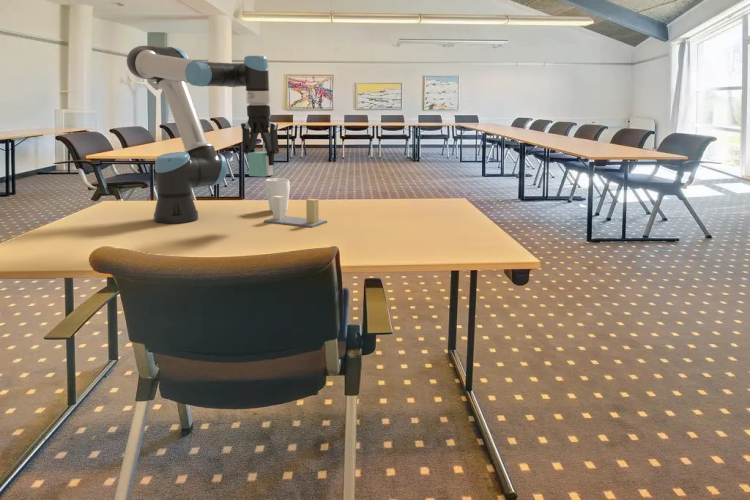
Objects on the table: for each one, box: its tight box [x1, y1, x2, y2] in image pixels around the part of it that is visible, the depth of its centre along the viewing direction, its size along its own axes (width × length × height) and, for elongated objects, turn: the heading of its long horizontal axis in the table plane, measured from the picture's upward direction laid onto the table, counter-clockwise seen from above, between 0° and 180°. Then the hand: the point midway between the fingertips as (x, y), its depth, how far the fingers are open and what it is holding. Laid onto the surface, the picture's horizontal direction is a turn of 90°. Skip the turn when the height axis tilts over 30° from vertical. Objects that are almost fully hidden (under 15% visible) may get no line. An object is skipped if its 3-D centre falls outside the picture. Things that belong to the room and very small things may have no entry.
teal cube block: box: [247, 151, 275, 178], centre depth 213 cm, size 6×6×8 cm
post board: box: [263, 196, 328, 228], centre depth 222 cm, size 20×10×9 cm, turn 65°
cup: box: [265, 177, 291, 213], centre depth 243 cm, size 9×9×12 cm
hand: (261, 174), depth 214 cm, fingers closed on teal cube block, 6 cm apart
